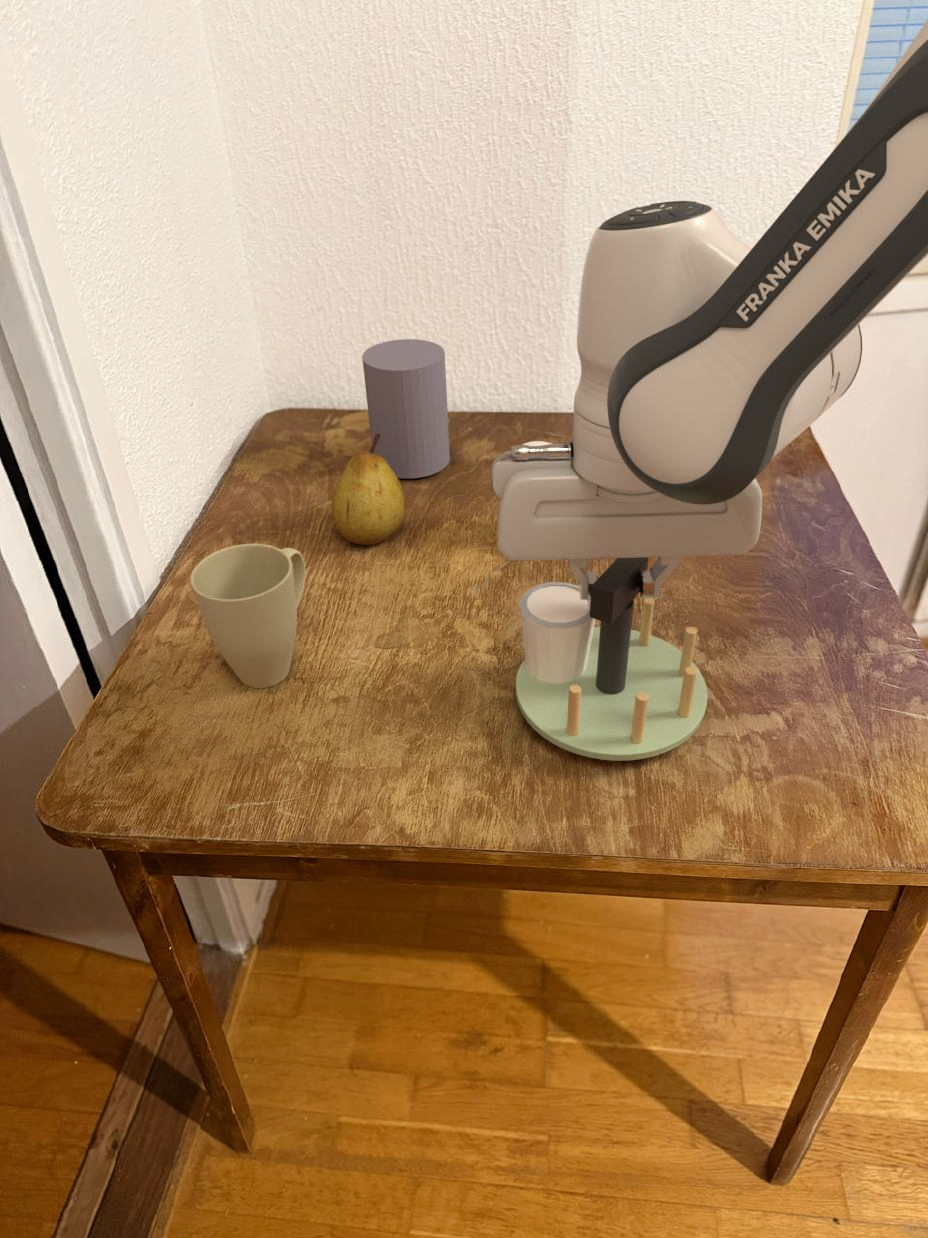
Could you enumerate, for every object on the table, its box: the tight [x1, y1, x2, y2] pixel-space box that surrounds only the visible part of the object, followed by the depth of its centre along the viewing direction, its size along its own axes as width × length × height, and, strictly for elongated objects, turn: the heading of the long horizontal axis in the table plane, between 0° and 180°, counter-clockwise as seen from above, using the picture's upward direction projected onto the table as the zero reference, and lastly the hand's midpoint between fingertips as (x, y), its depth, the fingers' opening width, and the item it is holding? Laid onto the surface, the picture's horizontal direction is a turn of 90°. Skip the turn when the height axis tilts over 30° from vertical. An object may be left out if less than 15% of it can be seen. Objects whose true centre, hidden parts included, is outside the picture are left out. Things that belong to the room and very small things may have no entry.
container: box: [361, 338, 451, 480], centre depth 115 cm, size 10×10×15 cm
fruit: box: [330, 433, 407, 546], centre depth 102 cm, size 9×9×12 cm
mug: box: [189, 543, 307, 689], centre depth 84 cm, size 11×10×12 cm
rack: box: [515, 557, 708, 762], centre depth 76 cm, size 17×17×13 cm
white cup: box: [519, 581, 597, 684], centre depth 80 cm, size 7×7×7 cm
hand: (618, 594), depth 73 cm, fingers closed on rack, 3 cm apart
